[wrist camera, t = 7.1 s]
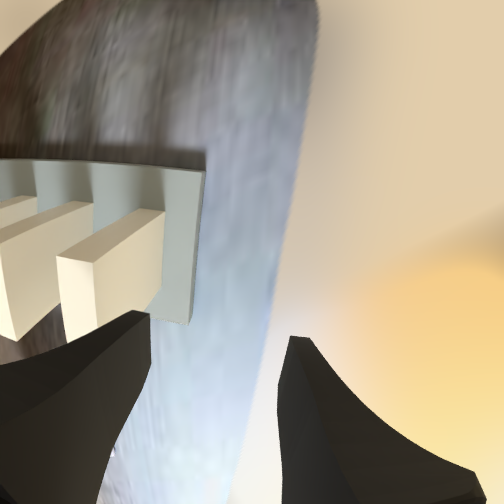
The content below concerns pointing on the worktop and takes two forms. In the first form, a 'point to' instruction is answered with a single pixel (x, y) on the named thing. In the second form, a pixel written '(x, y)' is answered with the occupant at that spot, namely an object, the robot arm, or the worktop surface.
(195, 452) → the worktop surface
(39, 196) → the board
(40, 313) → the domino
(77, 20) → the worktop surface
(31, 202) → the domino
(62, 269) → the head domino
